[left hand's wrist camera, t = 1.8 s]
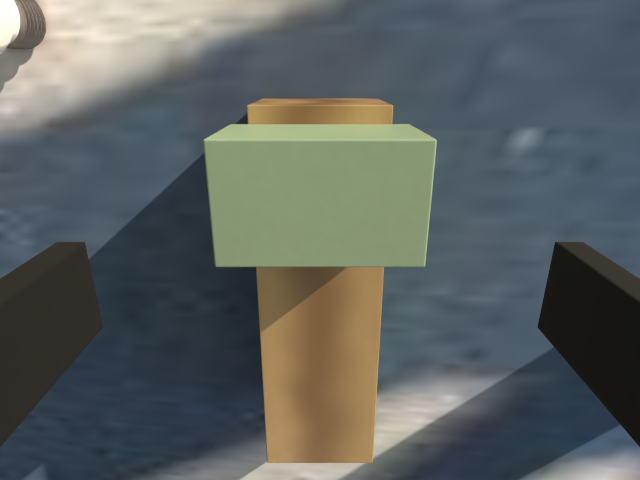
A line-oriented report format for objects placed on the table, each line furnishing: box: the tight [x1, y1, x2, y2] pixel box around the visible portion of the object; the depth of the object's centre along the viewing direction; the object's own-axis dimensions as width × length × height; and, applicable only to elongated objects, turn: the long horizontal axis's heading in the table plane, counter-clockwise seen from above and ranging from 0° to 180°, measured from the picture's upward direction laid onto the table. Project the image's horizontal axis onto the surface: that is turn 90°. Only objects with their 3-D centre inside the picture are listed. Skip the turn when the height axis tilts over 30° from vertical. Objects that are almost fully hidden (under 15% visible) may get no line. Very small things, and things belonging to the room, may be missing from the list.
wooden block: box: [247, 98, 393, 463], centre depth 32 cm, size 8×26×7 cm, turn 0°
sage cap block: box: [203, 124, 437, 267], centre depth 22 cm, size 10×6×6 cm, turn 90°
